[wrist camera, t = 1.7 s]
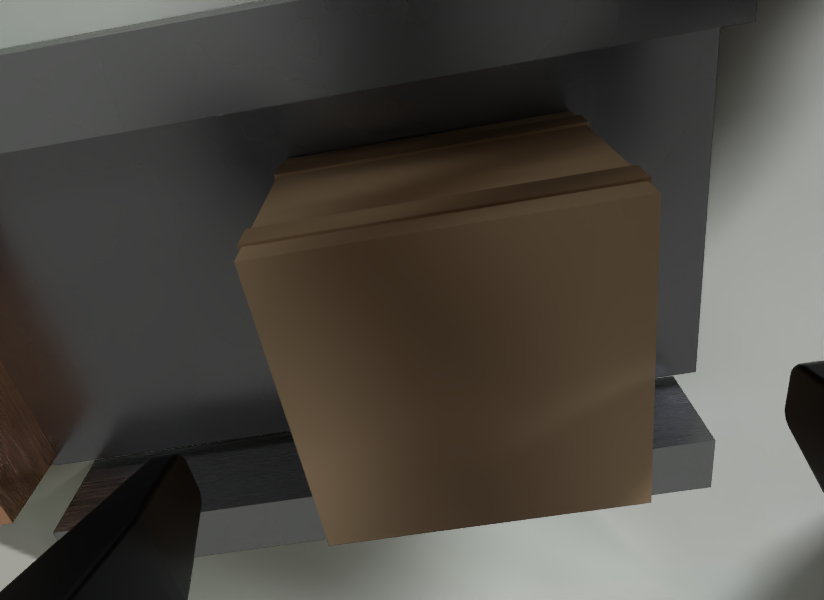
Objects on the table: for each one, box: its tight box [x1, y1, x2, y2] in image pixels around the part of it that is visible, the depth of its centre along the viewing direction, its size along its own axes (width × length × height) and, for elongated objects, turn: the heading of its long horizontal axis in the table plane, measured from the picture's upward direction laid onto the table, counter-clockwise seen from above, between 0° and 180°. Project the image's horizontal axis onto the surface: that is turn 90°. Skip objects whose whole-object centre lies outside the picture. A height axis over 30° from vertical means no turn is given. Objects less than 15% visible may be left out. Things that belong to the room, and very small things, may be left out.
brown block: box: [234, 111, 661, 546], centre depth 12 cm, size 6×6×5 cm
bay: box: [0, 0, 757, 557], centre depth 11 cm, size 20×17×6 cm
